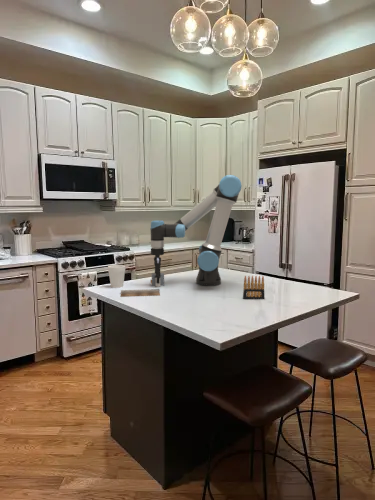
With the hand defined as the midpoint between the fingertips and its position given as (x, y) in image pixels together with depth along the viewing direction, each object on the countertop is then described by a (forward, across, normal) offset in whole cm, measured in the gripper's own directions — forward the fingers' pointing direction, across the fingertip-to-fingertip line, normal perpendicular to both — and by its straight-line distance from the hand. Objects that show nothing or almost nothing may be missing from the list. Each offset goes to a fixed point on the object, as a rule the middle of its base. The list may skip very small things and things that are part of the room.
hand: (157, 286), depth 205 cm
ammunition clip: (0, +31, +47) cm, 56 cm away
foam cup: (+1, +1, -23) cm, 23 cm away
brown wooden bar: (-1, +18, -10) cm, 21 cm away
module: (0, 0, 0) cm, 0 cm away
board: (0, +18, -10) cm, 21 cm away
